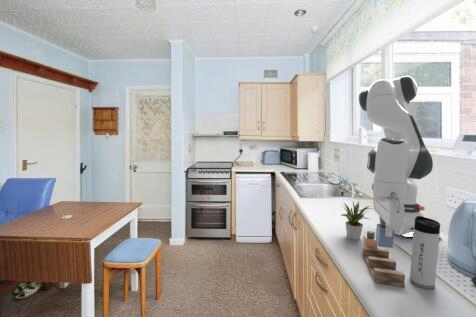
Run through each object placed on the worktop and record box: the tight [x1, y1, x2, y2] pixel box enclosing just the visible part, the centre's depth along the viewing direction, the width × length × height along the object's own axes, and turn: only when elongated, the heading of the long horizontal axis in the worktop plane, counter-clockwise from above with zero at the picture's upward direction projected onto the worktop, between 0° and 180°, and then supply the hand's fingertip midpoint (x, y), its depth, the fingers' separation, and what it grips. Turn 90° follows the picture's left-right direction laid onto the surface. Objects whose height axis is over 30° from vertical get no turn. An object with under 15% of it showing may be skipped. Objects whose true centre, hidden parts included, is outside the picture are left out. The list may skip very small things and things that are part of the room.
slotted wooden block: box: [362, 245, 406, 288], centre depth 86 cm, size 8×19×4 cm, turn 164°
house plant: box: [340, 200, 374, 241], centre depth 110 cm, size 14×14×16 cm
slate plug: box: [375, 219, 395, 249], centre depth 81 cm, size 4×4×8 cm
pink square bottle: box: [362, 230, 378, 248], centre depth 98 cm, size 4×4×8 cm
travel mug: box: [409, 216, 441, 290], centre depth 77 cm, size 6×7×20 cm
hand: (385, 232), depth 81 cm, fingers closed on slate plug, 4 cm apart
